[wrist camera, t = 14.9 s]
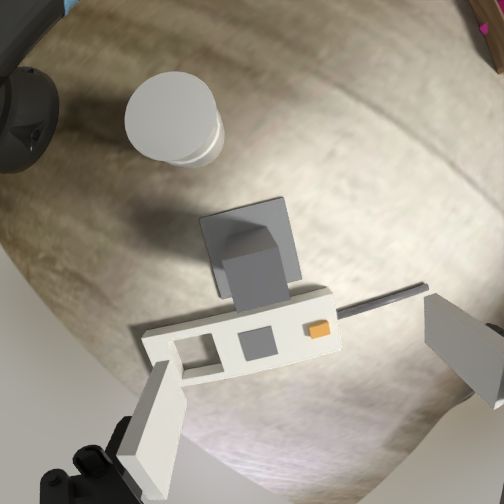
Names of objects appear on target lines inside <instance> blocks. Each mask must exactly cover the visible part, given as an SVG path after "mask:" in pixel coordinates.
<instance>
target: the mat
mask: <svg viewBox="0 0 504 504" xmlns="http://www.w3.org/2000/svg"><path fill="white" fill-rule="evenodd" d="M199 221H200V225H201V229H202V232H203V236H204V239H205V243H206V246H207V250H208V254H209V257H210V261H211V264H212V267H213V271H214V274H215V278H216V281H217V285H218V288H219V291H220V295H221V298H222V299H226V298H230V297H232V295H231V291H230V288H229V284H228V281H227V277H226V274H225V270H224V267H223V263H222V258H223V254H224V250H225V245H226V241H227V237H228V236H230V235H234V234H238V233H242V232H246V231H250V230H254V229H258V228H262V227H266V226H267V228H268V230H269V231H270V233H271V235H272V237H273V238H274V240H275V242H276V243H277V245H278V247H279V251H280V256H281V260H282V264H283V268H284V273H285V277H286V281H287V283H290V282H294V281H298V280H301V279H302V275H301V270H300V266H299V261H298V257H297V252H296V248H295V243H294V239H293V235H292V230H291V226H290V222H289V217H288V213H287V209H286V205H285V200H284V198H279V199H275V200H271V201H267V202H263V203H259V204H255V205H251V206H247V207H243V208H239V209H235V210H231V211H228V212H224V213H220V214H216V215H212V216H209V217H205V218H201V219H199Z"/></svg>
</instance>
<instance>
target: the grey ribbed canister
mask: <svg viewBox="0 0 504 504" xmlns="http://www.w3.org/2000/svg"><path fill="white" fill-rule="evenodd" d="M125 130H126V132H127V135H128V138H129V140H130V142H131V143H132V144H133V146H134V147H135V149H137V150H138V151H139V152H140V153H142V154H143V155H144V156H147V157H149V158H152V159H154V160H160V161H164V162H166V163H169V164H171V165H176V166H180V167H187V168H199V167H203V166H205V165H208V164H210V163H211V162H212V161H214V160H215V159H216V158H217V156H218V155H219V154H220V153H221V150H222V148H223V146H224V141H225V133H224V128H223V123H222V119H221V116H220V114H219V111H218V109H217V107H216V102H215V100H214V97H213V95H212V92H211V91H210V89H209V88H208V87H207V86H206V84H205V83H204V82H203V81H201V80H200V79H198V78H197V77H195V76H193V75H190V74H188V73H185V72H173V71H172V72H166V73H161V74H158V75H156V76H154V77H152V78H149V79H148V80H147V81H145V82H144V83H143V84H141V85H140V86H139V87H138V88H137V90H136V91H135V92H134V93H133V95H132V96H131V98H130V100H129V103H128V105H127V108H126V113H125Z"/></svg>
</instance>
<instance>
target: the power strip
mask: <svg viewBox="0 0 504 504" xmlns="http://www.w3.org/2000/svg"><path fill="white" fill-rule="evenodd" d="M428 290H429V286H428V284H423V285H420V286H418V287H415V288H412V289H409V290H406V291H403V292H400V293H397V294H394V295H391V296H388V297H384V298H381V299H378V300H375V301H372V302H369V303H365V304H362V305H359V306H355V307H352V308H349V309H345V310H342V311H339V312H336V307H335V301H334V295H333V292H332V291H331V290H330V289H329V288H328V287H326V288H323V289H319V290H315V291H311V292H308V293H304V294H300V295H296V296H293V297H290V299H291V300H287V301H283V302H279V303H275V304H271V305H267V306H263V307H259V308H255V309H251V310H247V311H243V312H239V313H237V312H236V311H232V312H228V313H224V314H220V315H215V316H211V317H207V318H202V319H198V320H193V321H189V322H184V323H179V324H175V325H170V326H165V327H161V328H156V329H151V330H146V331H145V333H144V335H143V336H142V338H141V339H142V342H143V344H144V347H145V349H146V351H147V354H148V356H149V358H150V361H151V363H152V365H153V367H154V365H155V363H156V362H159V361H166V360H170V361H171V364H172V366H173V369H174V371H175V374H176V376H177V379H178V381H179V384H180V386H181V387H183V386H189V385H195V384H201V383H206V382H212V381H217V380H222V379H227V378H232V377H237V376H242V375H247V374H251V373H256V372H260V371H264V370H269V369H273V368H277V367H281V366H285V365H289V364H293V363H297V362H301V361H304V360H308V359H312V358H315V357H319V356H323V355H326V354H329V353H333V352H336V351H340V350H342V344H341V338H340V331H339V325H338V320H339V319H342V318H345V317H349V316H352V315H355V314H359V313H362V312H365V311H368V310H372V309H375V308H378V307H381V306H384V305H387V304H390V303H393V302H396V301H399V300H402V299H405V298H408V297H411V296H414V295H417V294H419V293H422V292H425V291H428ZM208 333H212V336H213V339H214V342H215V345H216V348H217V351H218V354H219V357H220V360H221V362H222V363H219V364H214V365H209V366H204V367H199V368H193V369H188V370H184V367H183V365H182V362H181V360H180V357H179V355H178V352H177V350H176V347H175V345H174V342H173V341H174V340H179V339H184V338H189V337H194V336H198V335H203V334H208Z"/></svg>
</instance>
